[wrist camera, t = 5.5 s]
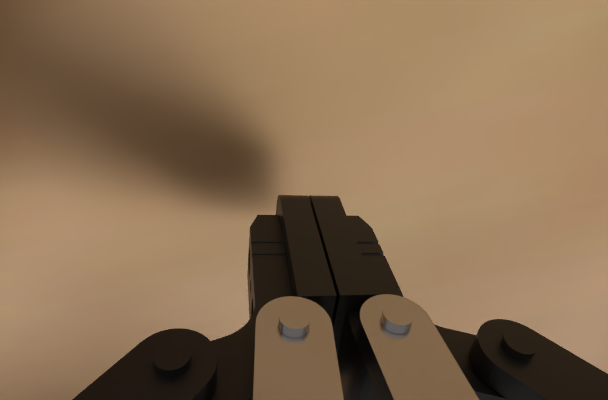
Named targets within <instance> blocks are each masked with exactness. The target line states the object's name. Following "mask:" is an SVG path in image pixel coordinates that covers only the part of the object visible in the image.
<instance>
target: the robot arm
mask: <svg viewBox="0 0 608 400" xmlns="http://www.w3.org/2000/svg"><path fill="white" fill-rule="evenodd" d="M248 295H249V315H250V320H249V321H248V323H247V324H246V325H245V326H244V327H242V328H241V329H240V330H238V331H236V332H235V333H233V334H231V335H228V336H225V337H222V338H219V339H216V340H213V341H210V340H209V339H208V338H207V337H205V336H204V335H202V334H200V333H198V332H196V331H193V330H189V329H168V330H164V331H160V332H158V333H155V334H153V335H151V336H149V337H148V338H146V339H145V340H143V341H142V342H141V343H139V344H138V345H137V346H136V347H135V348H133V349H132V350H131V351H130V352H129V353H128V354H126V355H125V356H124V357H123V358H122V359H120V360H119V361H118V362H117V363H116V364H114V365H113V366H112V367H111V368H110V369H108V370H107V371H106V372H105V373H104V374H102V375H101V376H100V377H99V378H98V379H96V380H95V381H94V382H93V383H92V384H90V385H89V386H88V387H87V388H86V389H84V390H83V391H82V392H81V393H80V394H78V395H77V396H76V397H75V398H74V399H73V400H608V374H607V373H605V372H603V371H602V370H600V369H598V368H596V367H595V366H593V365H591V364H590V363H588V362H586V361H585V360H583V359H581V358H579V357H578V356H576V355H574V354H573V353H571V352H569V351H568V350H566V349H564V348H562V347H561V346H559V345H557V344H556V343H554V342H552V341H550V340H549V339H547V338H545V337H544V336H542V335H540V334H539V333H537V332H535V331H533V330H532V329H530V328H528V327H526V326H524V325H522V324H519V323H517V322H514V321H510V320H504V319H495V320H490V321H487V322H485V323H484V324H483V325H482V326H481V327H480V329H479V331H478V333H477V335H473V334H468V333H464V332H460V331H455V330H451V329H446V328H443V327H439V326H437V325H434V323H433V322H432V320H431V318H430V317H429V315H428V314H427V313H426V312H425V310H424V309H423V308H421V307H420V306H419V305H418V304H416V303H415V302H413V301H411V300H409V299H407V298H404V297H403V295H402V292H401V290H400V288H399V286H398V284H397V281H396V279H395V277H394V275H393V273H392V271H391V268H390V266H389V264H388V262H387V260H386V258H385V256H383V251H382V249H381V247H380V245H379V244H378V240H377V238H376V236H375V234H374V232H373V229H372V228H371V227H370V226H369V225H368V224H367V223H366V222H365V221H364V220H362V219H361V218H360V217H359V216H346V214H345V211H344V208H343V206H342V203H341V201H340V198H339V197H338V196H309V197H308V196H295V195H279V196H278V199H277V207H276V215H257V217H256V219H255V220H254V222H253V223H252V225H251V227H250V238H249V257H248Z"/></svg>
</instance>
